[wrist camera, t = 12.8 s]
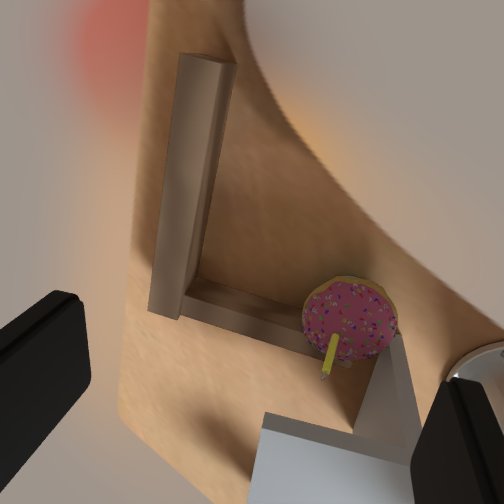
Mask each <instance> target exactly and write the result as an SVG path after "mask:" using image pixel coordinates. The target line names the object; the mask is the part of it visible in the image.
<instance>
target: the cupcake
mask: <svg viewBox="0 0 504 504" xmlns="http://www.w3.org/2000/svg"><path fill="white" fill-rule="evenodd" d="M397 324H398V314H397V310H396V308H395V306H394V304H393V302H392V301H391V299H390V298H389V297H388V295H387V293H386V292H385V290H384V288H382V287H381V286H380V285H378V284H376V283H374V282H372V281H369V280H366V279H361V278H358V277H355V276H350V275H344V276H336V277H334V278H332V279H331V280H329V281H327V282H325V283H323V284H322V285H320V286H319V287H317V288H316V289H315V290H313V291H312V292H311V293H310V295H309V296H308V297H307V299H306V301H305V303H304V306H303V312H302V325H303V327H302V328H303V330H304V334H305V336H306V341H307V342H308V341H309V342H310V344H311V343H312V344H311V345H312V346H313V345H314V348H315V349H318V350H320V351H321V352H322V353H325V354H326V357H325V361H324V364H323V368H322V373H323V375H322V378H321V380H323V379H324V378H325V375H328V374H330V371H331V367H332V363H333V359H334V358H338V360H339V359H340V360H342V361H345V360H346V361H354V362H356V360H361V359H365V358H370V357H373V356H375V355H376V354H378V353H380V352H382V351H383V350H385V349H386V347H388V345H389V343H390V342H391V340H392V339H393V337H395V332H396V329H397ZM340 360H339V361H340Z"/></svg>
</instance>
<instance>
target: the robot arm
mask: <svg viewBox="0 0 504 504" xmlns="http://www.w3.org/2000/svg"><path fill="white" fill-rule="evenodd" d="M90 381H91V367H90V358H89V350H88V340H87V331H86V321H85V312H84V305H83V302H82V301H80V300H79V297H78V296H77V295H76V294H73V293H68V292H63V291H59V290H54V291H52V292H51V293H49V294H48V295H46V296H45V297H44V298H42V299H41V300H40V301H38V302H37V303H36V304H34V305H33V306H32V307H30V308H29V309H27V310H26V311H25V312H24V313H22V314H21V315H19V316H18V317H17V318H15V319H14V320H13V321H11V322H10V323H8V324H7V325H6V326H4V327H3V328H2V329H0V493H1V491H2V490H3V489H4V488H5V487H6V485H7V484H8V483H9V482H10V481H11V479H12V478H13V477H14V476H15V475H16V473H17V472H18V471H19V470H20V469H21V467H22V466H23V465H24V464H25V463H26V461H27V460H28V459H29V458H30V457H31V455H32V454H33V453H34V452H35V451H36V449H37V448H38V447H39V446H40V445H41V443H42V442H43V441H44V440H45V439H46V437H47V436H48V435H49V433H51V431H52V430H53V429H54V428H55V426H56V425H57V424H58V423H59V422H60V420H61V419H62V418H63V417H64V416H65V415H66V413H67V412H68V411H69V410H70V408H71V407H72V406H73V405H74V404H75V402H76V401H77V400H78V399H79V398H80V396H81V395H82V394H83V393H84V392H85V390H86V389H87V388H88V386H89V384H90ZM410 475H411V481H412V488H413V495H414V501H415V504H504V341H502V342H497V343H493V344H489V345H486V346H483V347H480V348H478V349H476V350H474V351H472V352H470V353H469V354H467V355H466V356H464V357H463V358H462V359H460V360H459V361H458V362H457V363H456V364H455V365H454V367H453V368H452V369H451V371H450V372H449V374H448V376H447V378H446V381H442V382H441V384H440V386H439V389H438V391H437V394H436V396H435V399H434V401H433V404H432V406H431V409H430V411H429V414H428V417H427V419H426V422H425V424H424V427H423V429H422V432H421V434H420V437H419V439H418V442H417V444H416V447H415V449H414V452H413V454H412V457H411V462H410Z"/></svg>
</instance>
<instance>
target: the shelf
mask: <svg viewBox="0 0 504 504" xmlns="http://www.w3.org/2000/svg"><path fill="white" fill-rule="evenodd" d="M421 432H422V426H421V421H420V417H419V412H418V407H417V403H416V398H415V394H414V389H413V384H412V380H411V375H410V371H409V366H408V361H407V357H406V352H405V348H404V343H403V339H402V335H399V334H395V337H393V339H392V340H391V342H390V343H389V345H388V347H386V349H385V350H383V351H382V352H380V353H379V356H378V359H377V362H376V365H375V367H374V370H373V373H372V376H371V379H370V382H369V384H368V387H367V390H366V393H365V396H364V399H363V402H362V404H361V407H360V410H359V413H358V416H357V419H356V422H355V424H354V427H353V434H350V433H346V432H342V431H338V430H334V429H330V428H326V427H322V426H319V425H315V424H311V423H307V422H303V421H299V420H295V419H291V418H288V417H284V416H280V415H276V414H272V413H268V412H265V415H264V419H263V424H262V428H261V433H260V439H259V444H258V449H257V454H256V459H255V464H254V469H253V474H252V479H251V484H250V489H249V494H248V499H247V504H415V501H414V495H413V488H412V481H411V475H410V462H411V457H412V454H413V452H414V449H415V447H416V444H417V442H418V439H419V437H420V434H421Z"/></svg>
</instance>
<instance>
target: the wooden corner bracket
mask: <svg viewBox="0 0 504 504" xmlns="http://www.w3.org/2000/svg"><path fill="white" fill-rule="evenodd" d="M236 67H237V63H233V62H229V61H225V60H222V59H218V58H214V57H210V56H207V55H203V54H192V53H180V56H179V64H178V72H177V80H176V88H175V96H174V104H173V112H172V120H171V128H170V136H169V144H168V151H167V159H166V167H165V175H164V183H163V191H162V199H161V207H160V215H159V223H158V231H157V239H156V247H155V254H154V262H153V270H152V278H151V286H150V294H149V302H148V310H147V311H150V312H153V313H156V314H159V315H162V316H165V317H168V318H171V319H174V320H178V318H179V316H180V315H183V316H186V317H189V318H192V319H195V320H198V321H201V322H204V323H208V324H211V325H214V326H217V327H220V328H223V329H226V330H229V331H232V332H235V333H239V334H242V335H245V336H248V337H251V338H254V339H257V340H260V341H263V342H266V343H270V344H273V345H276V346H279V347H282V348H285V349H288V350H291V351H294V352H297V353H301V354H304V355H307V356H310V357H313V358H316V359H319V360H322V361H325V357H326V354H325V353H322V352H321V351H320V350H318V349H315V348H314V345H313V346H312V345H311V344H312V343H311V344H310V342H309V341H308V342H307V341H306V336H305V334H304V330H303V328H302V327H303V325H302V312H303V310H301V309H298V308H295V307H292V306H288V305H285V304H282V303H279V302H276V301H273V300H269V299H266V298H263V297H260V296H257V295H253V294H250V293H247V292H244V291H241V290H237V289H234V288H231V287H228V286H225V285H221V284H218V283H215V282H212V281H209V280H205V279H202V278H199V277H197V272H198V267H199V261H200V256H201V251H202V246H203V240H204V235H205V230H206V225H207V219H208V214H209V209H210V204H211V198H212V193H213V188H214V183H215V177H216V172H217V167H218V161H219V156H220V151H221V146H222V140H223V135H224V130H225V125H226V119H227V114H228V109H229V104H230V98H231V93H232V88H233V83H234V77H235V72H236ZM339 360H340V359H339ZM339 360H338V358H334V359H333V363H332V364H335V365H338V366H341V367H344V368H347V369H350V367H351V365H352V363H353V361H346V360H345V361H342V360H340V361H339Z"/></svg>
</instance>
